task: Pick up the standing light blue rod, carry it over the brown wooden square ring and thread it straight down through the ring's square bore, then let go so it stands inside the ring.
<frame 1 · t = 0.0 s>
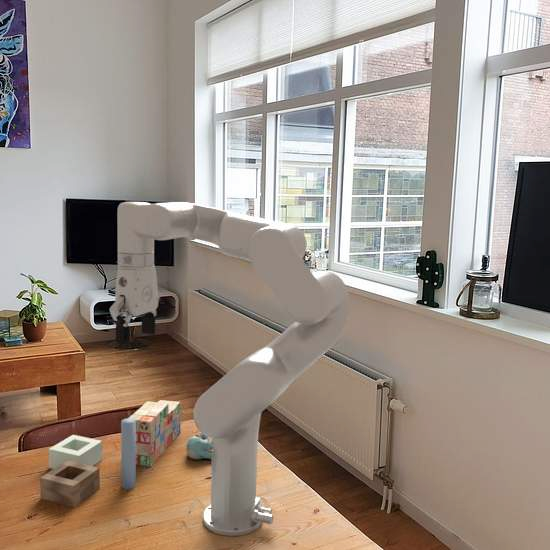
hand: (136, 338, 129), 37 cm above the table, tool pointing down, fingers open, 9 cm apart
stack of blocks: (155, 448, 159), on the table
teal cartoon creature figurine: (206, 455, 156), on the table
light blue rod: (128, 485, 139), on the table
brown wooden square ring: (70, 493, 135), on the table
white square hollow block: (76, 463, 149), on the table
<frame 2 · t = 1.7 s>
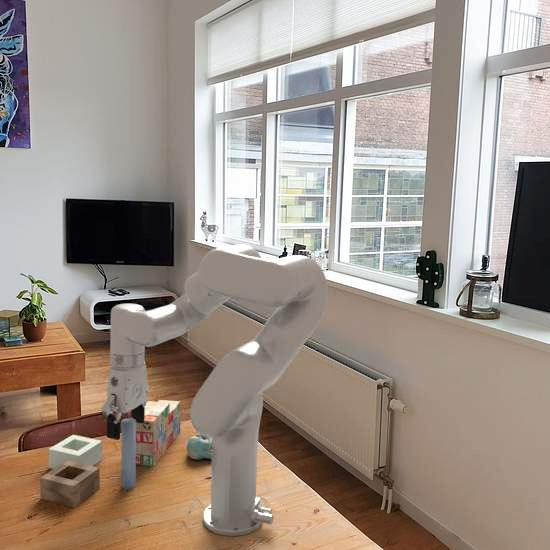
hand: (126, 429, 137), 14 cm above the table, tool pointing down, fingers open, 9 cm apart
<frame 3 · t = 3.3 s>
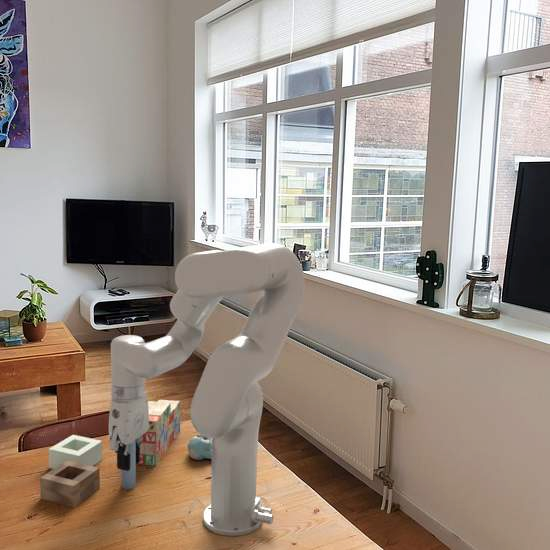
hand: (128, 464, 138), 5 cm above the table, tool pointing down, fingers closed on light blue rod, 3 cm apart
light blue rod: (128, 485, 139), on the table, touching gripper
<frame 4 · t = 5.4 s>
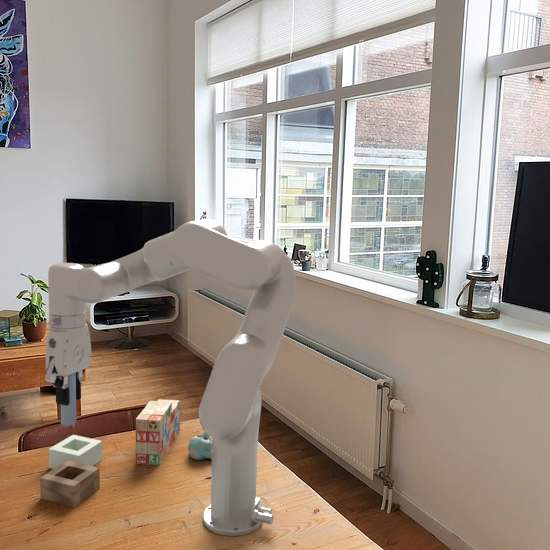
hand: (68, 400, 132), 22 cm above the table, tool pointing down, fingers closed on light blue rod, 3 cm apart
light blue rod: (68, 422, 132), point 17 cm above the table, touching gripper
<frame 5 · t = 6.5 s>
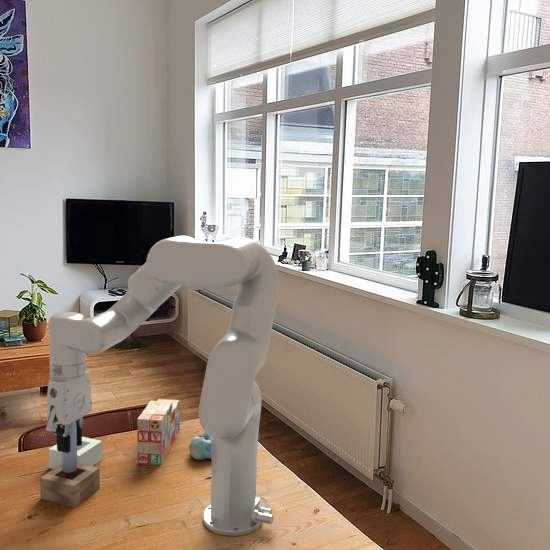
hand: (69, 447, 133), 11 cm above the table, tool pointing down, fingers closed on light blue rod, 3 cm apart
light blue rod: (69, 468, 134), point 6 cm above the table, touching gripper
when the fingers open (7 cm above the table, at t = 7.6 s): light blue rod drops 1 cm, resting in brown wooden square ring.
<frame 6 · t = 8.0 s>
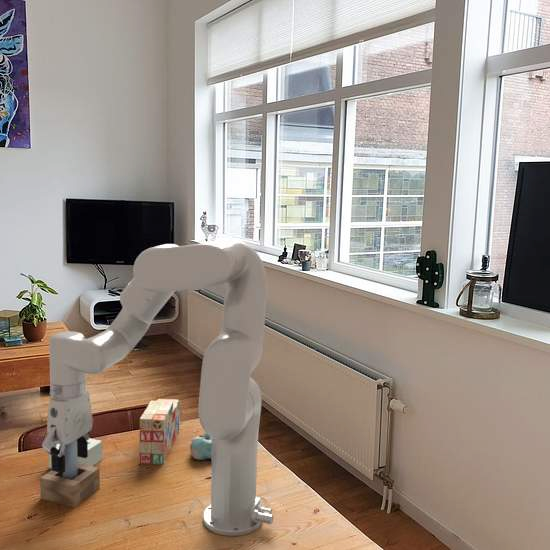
hand: (70, 463, 134), 7 cm above the table, tool pointing down, fingers open, 7 cm apart
light blue rod: (70, 493, 135), resting in brown wooden square ring
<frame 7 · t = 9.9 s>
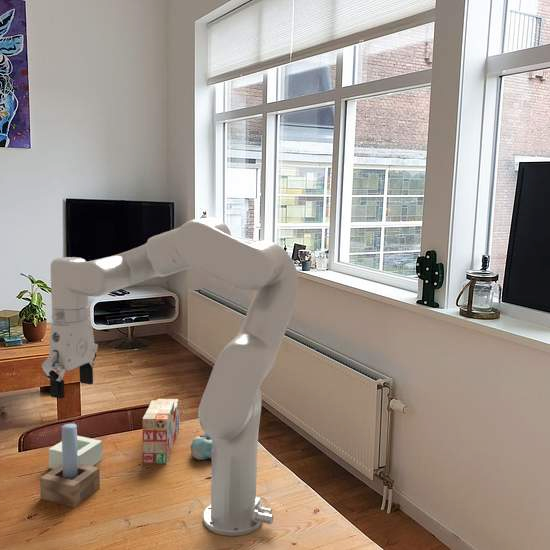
hand: (72, 390, 131), 24 cm above the table, tool pointing down, fingers open, 9 cm apart
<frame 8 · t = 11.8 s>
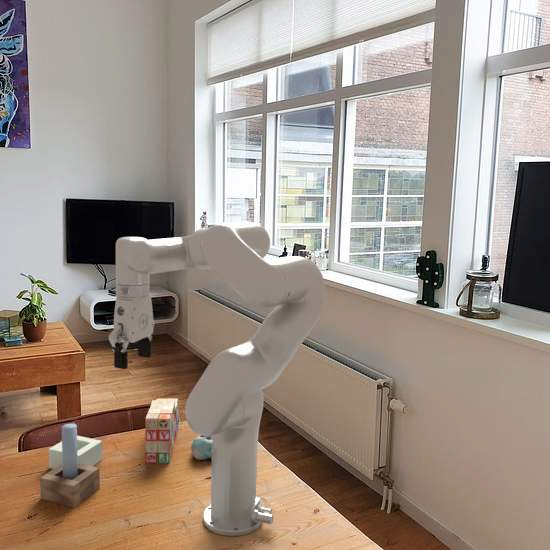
hand: (133, 362, 140), 28 cm above the table, tool pointing down, fingers open, 9 cm apart
at the end: light blue rod 0.0 cm off-centre on the brown wooden square ring, point 0.0 cm above the brown wooden square ring's base; light blue rod tilted 0°; the gripper is holding nothing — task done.
